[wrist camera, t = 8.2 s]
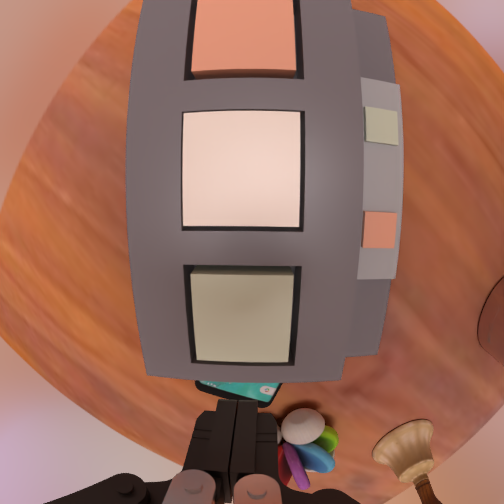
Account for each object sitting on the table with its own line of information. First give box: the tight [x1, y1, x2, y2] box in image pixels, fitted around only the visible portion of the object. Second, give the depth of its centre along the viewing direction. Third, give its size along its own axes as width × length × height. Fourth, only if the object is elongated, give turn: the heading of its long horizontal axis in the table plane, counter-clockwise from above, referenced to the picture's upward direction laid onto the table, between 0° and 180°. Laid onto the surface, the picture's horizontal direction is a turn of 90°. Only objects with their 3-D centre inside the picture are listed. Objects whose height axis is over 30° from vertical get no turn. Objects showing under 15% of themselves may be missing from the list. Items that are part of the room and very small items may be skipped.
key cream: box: [182, 111, 300, 227], centre depth 16 cm, size 6×6×2 cm
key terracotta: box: [191, 0, 296, 80], centre depth 15 cm, size 6×6×2 cm
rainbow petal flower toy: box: [277, 408, 339, 490], centre depth 22 cm, size 8×10×7 cm
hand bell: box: [372, 419, 442, 504], centre depth 18 cm, size 8×8×16 cm
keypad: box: [126, 0, 404, 383], centre depth 18 cm, size 18×28×4 cm, turn 0°
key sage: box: [191, 265, 294, 362], centre depth 19 cm, size 6×6×2 cm
